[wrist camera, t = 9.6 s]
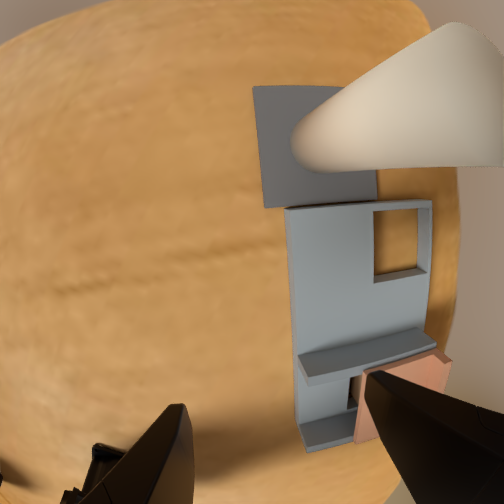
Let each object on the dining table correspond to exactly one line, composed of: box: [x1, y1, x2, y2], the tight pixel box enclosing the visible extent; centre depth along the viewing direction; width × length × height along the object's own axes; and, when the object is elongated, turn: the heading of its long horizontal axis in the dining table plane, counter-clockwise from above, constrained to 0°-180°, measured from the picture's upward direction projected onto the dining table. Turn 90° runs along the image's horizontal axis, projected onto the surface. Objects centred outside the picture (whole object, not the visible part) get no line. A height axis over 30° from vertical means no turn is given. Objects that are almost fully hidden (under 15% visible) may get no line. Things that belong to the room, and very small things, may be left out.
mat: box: [253, 86, 377, 208], centre depth 19 cm, size 8×8×1 cm
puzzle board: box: [284, 199, 437, 453], centre depth 20 cm, size 11×18×4 cm, turn 6°
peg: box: [290, 22, 504, 174], centre depth 12 cm, size 4×4×14 cm
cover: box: [353, 348, 452, 444], centre depth 18 cm, size 6×7×2 cm
